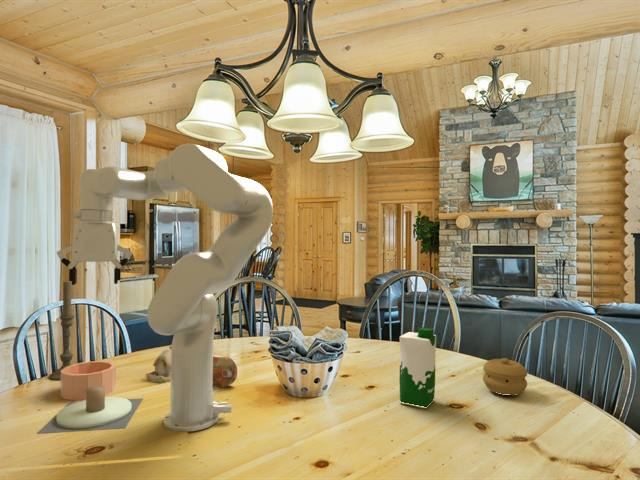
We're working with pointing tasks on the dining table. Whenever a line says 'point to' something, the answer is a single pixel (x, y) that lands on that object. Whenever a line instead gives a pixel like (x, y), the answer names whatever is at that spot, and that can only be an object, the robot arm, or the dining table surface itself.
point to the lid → (94, 410)
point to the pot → (505, 376)
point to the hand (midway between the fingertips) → (95, 283)
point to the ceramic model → (161, 368)
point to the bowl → (87, 378)
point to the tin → (223, 371)
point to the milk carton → (417, 367)
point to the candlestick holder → (65, 330)
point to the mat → (55, 428)
